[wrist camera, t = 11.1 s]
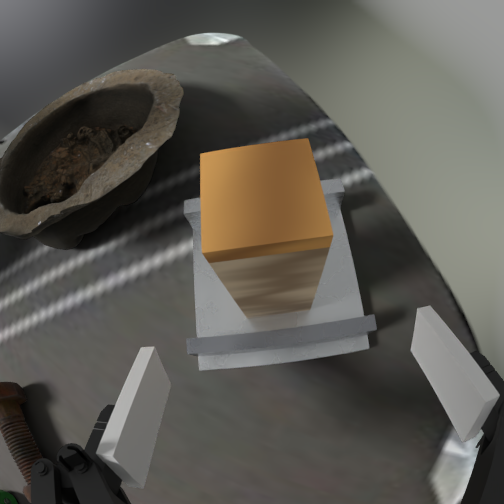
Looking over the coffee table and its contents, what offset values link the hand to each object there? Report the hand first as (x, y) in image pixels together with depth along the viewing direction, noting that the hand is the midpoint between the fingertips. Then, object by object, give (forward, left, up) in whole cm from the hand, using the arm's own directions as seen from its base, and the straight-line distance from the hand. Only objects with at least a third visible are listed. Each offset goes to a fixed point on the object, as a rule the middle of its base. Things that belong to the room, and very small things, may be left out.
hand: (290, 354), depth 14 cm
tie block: (0, +6, -6) cm, 9 cm away
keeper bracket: (0, +6, -7) cm, 9 cm away
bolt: (-24, -10, -8) cm, 27 cm away
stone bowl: (-18, +21, -8) cm, 29 cm away
